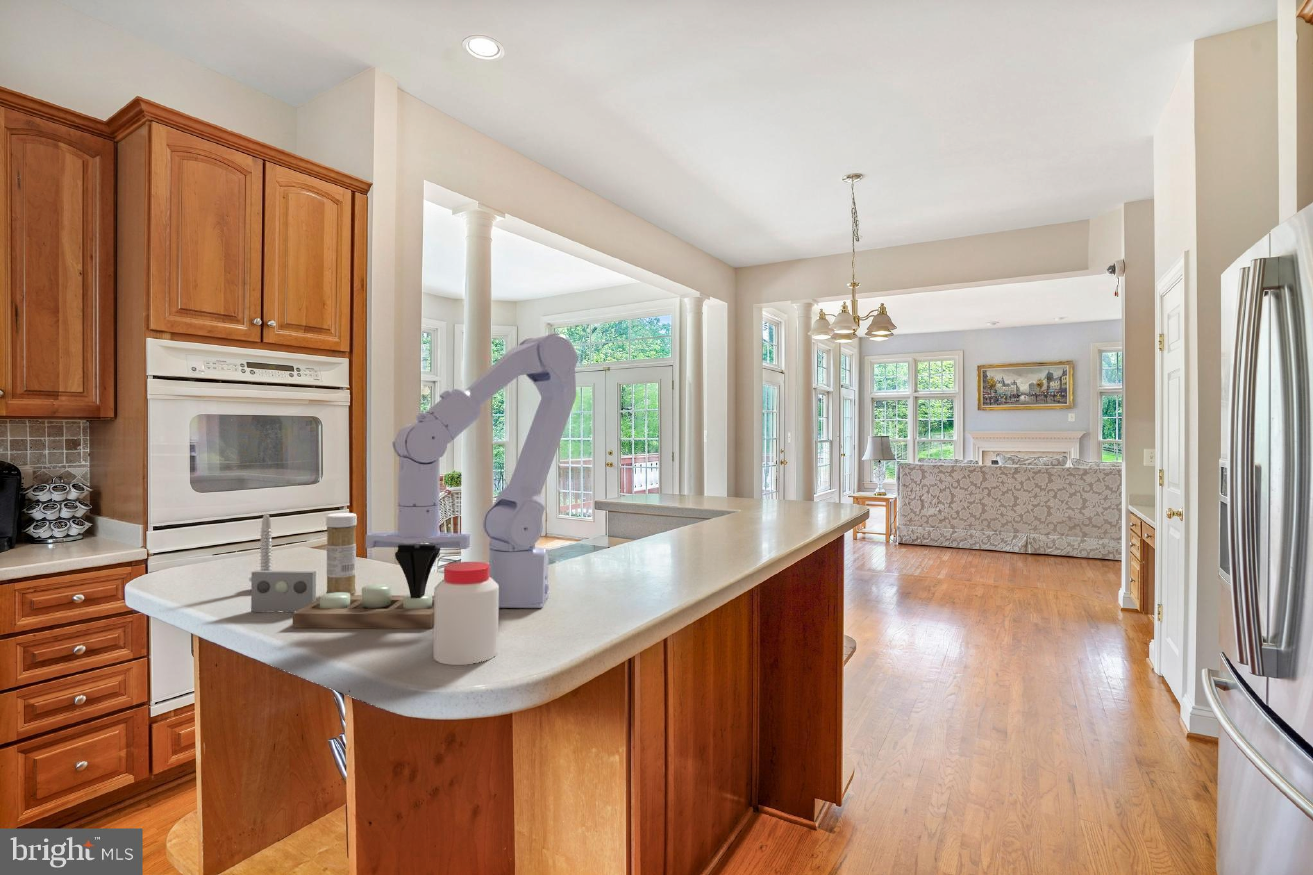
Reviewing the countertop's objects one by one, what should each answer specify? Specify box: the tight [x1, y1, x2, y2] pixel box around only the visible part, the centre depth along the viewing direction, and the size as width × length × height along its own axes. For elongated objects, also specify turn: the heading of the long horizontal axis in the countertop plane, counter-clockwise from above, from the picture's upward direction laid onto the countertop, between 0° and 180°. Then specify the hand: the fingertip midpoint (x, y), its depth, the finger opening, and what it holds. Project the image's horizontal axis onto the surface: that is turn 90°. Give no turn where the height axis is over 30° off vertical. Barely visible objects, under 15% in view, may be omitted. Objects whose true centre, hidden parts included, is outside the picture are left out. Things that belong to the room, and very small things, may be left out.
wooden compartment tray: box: [292, 594, 434, 630], centre depth 94 cm, size 19×10×2 cm, turn 92°
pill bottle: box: [432, 561, 500, 666], centre depth 80 cm, size 8×8×11 cm
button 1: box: [319, 592, 350, 609], centre depth 94 cm, size 4×4×2 cm
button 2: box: [403, 592, 433, 609], centre depth 95 cm, size 4×4×2 cm
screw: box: [248, 513, 273, 583], centre depth 109 cm, size 13×5×5 cm
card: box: [250, 570, 317, 613], centre depth 97 cm, size 9×1×6 cm, turn 92°
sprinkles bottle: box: [325, 512, 358, 595], centre depth 107 cm, size 5×5×13 cm
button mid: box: [361, 583, 392, 608], centre depth 94 cm, size 4×4×2 cm
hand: (417, 596), depth 95 cm, fingers closed, pressing on button 2
